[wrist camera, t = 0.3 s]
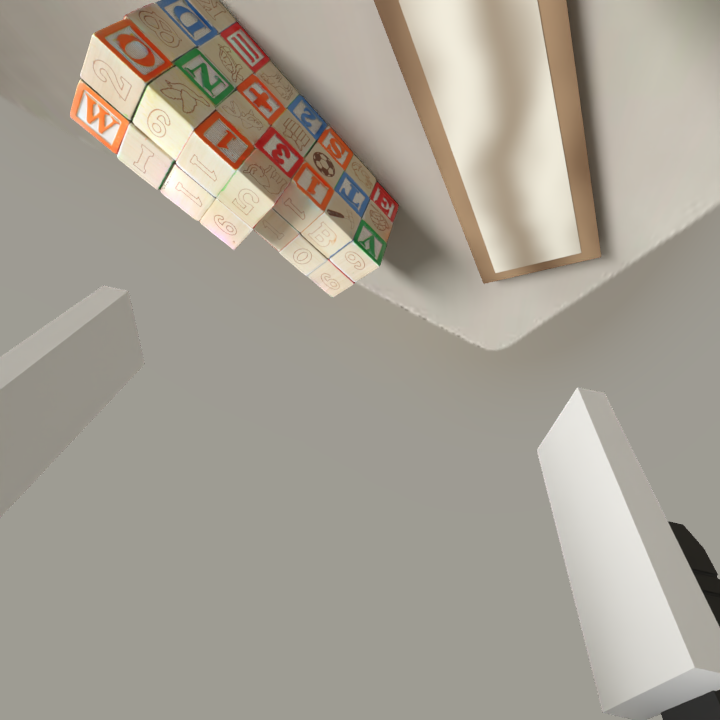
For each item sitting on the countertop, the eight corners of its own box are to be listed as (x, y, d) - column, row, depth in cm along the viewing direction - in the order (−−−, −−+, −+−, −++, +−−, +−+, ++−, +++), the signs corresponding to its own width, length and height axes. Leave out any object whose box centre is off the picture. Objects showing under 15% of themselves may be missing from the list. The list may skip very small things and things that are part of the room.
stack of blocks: (402, 204, 38) (373, 294, 31) (356, 238, 42) (321, 324, 35) (200, -23, 28) (88, 31, 21) (167, 51, 32) (64, 117, 25)
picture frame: (547, -130, 21) (549, -127, 20) (598, 242, 36) (601, 257, 35) (378, -14, 26) (371, -5, 25) (484, 270, 41) (483, 284, 40)
